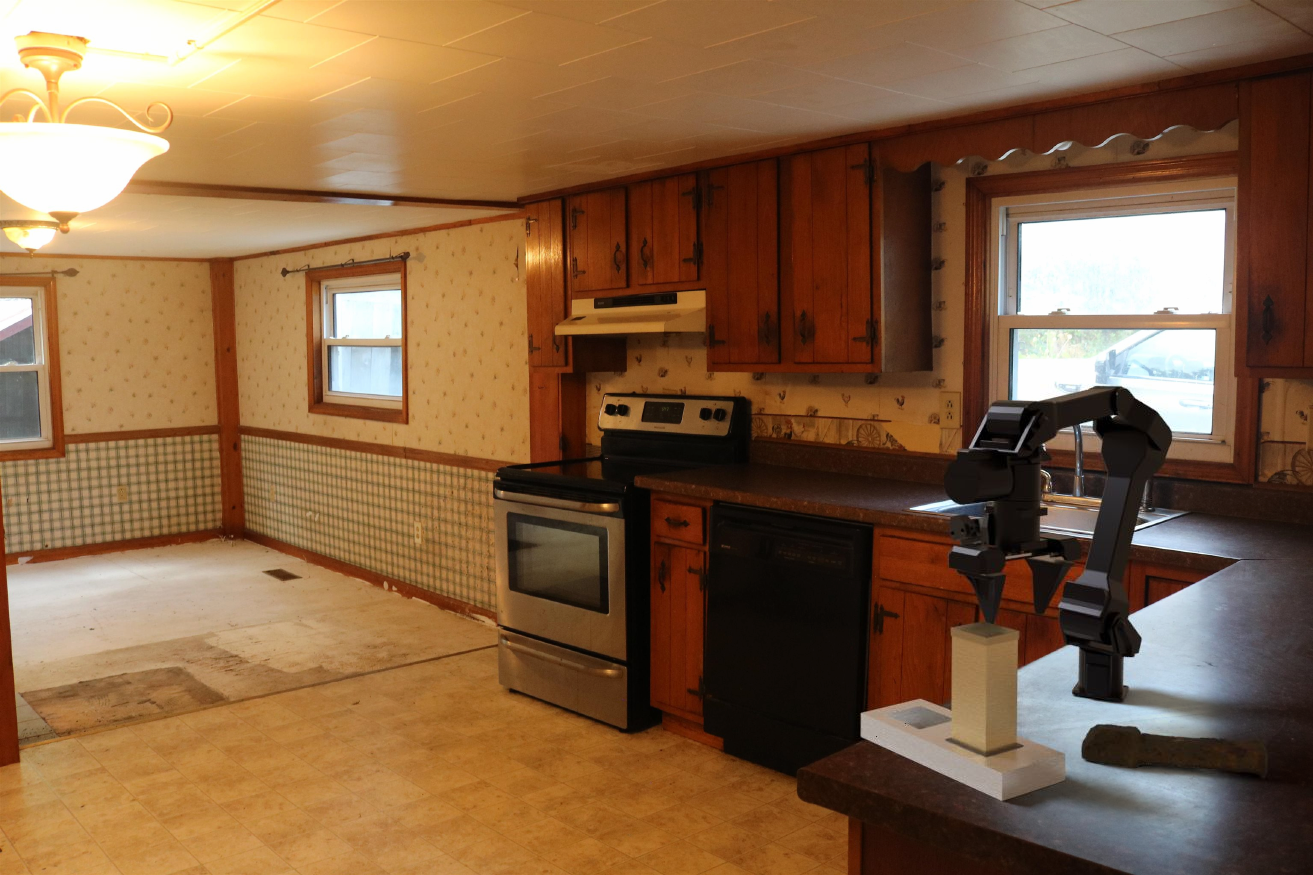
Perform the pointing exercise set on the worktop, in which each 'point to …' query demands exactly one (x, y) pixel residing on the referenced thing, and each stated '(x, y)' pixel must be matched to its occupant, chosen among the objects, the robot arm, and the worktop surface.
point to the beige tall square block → (984, 686)
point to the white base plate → (962, 751)
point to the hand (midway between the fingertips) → (1015, 619)
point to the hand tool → (1172, 750)
